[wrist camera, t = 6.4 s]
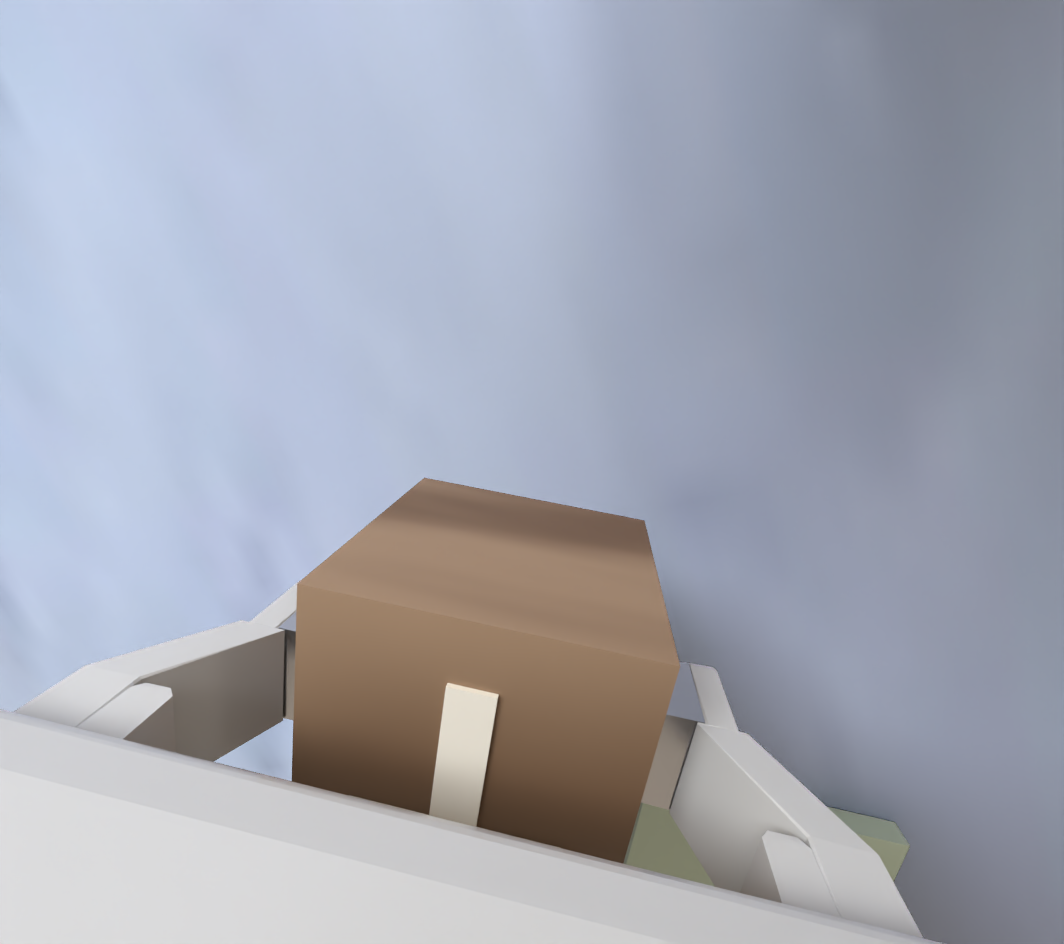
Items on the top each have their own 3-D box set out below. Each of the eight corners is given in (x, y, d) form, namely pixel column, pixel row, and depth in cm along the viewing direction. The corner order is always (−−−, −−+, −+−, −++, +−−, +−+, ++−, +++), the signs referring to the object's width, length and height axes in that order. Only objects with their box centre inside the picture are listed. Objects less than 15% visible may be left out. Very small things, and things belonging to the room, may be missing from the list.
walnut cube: (424, 477, 11) (293, 586, 6) (644, 520, 11) (681, 671, 6) (405, 662, 13) (286, 865, 8) (599, 706, 12) (600, 947, 7)
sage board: (645, 764, 21) (648, 784, 20) (894, 822, 20) (909, 846, 19) (594, 951, 24) (594, 977, 23) (811, 1008, 23) (820, 1037, 22)
